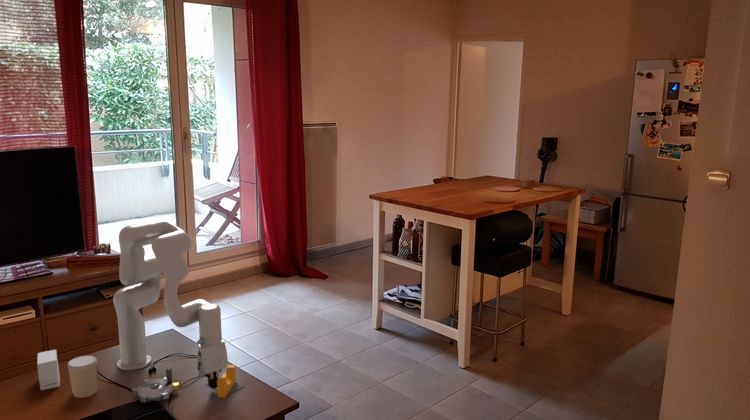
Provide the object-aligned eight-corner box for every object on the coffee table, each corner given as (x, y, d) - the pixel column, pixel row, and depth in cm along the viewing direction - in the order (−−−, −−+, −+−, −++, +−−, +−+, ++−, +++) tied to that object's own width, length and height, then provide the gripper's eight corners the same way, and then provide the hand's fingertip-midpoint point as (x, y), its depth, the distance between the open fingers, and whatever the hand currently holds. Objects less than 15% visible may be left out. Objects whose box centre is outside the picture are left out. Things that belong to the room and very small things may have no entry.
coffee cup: (105, 388, 210) (102, 357, 208) (85, 400, 202) (82, 368, 199) (85, 384, 213) (82, 353, 211) (64, 396, 205) (61, 364, 202)
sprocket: (151, 379, 215) (149, 361, 213) (185, 384, 211) (184, 366, 210) (124, 399, 200) (122, 380, 199) (160, 405, 197) (159, 386, 196)
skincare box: (39, 378, 217) (37, 352, 215) (59, 374, 220) (57, 348, 218) (39, 390, 208) (36, 363, 206) (59, 386, 211) (57, 359, 209)
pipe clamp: (224, 380, 217) (223, 364, 215) (235, 381, 216) (235, 365, 215) (212, 397, 205) (212, 380, 204) (225, 397, 204) (224, 380, 203)
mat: (206, 384, 214) (206, 384, 214) (224, 376, 220) (224, 376, 220) (226, 395, 207) (226, 394, 206) (244, 386, 213) (244, 386, 213)
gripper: (198, 349, 197) (201, 398, 201) (234, 335, 209) (236, 383, 212) (186, 343, 202) (189, 392, 205) (222, 330, 213) (224, 376, 217)
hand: (213, 387), depth 209 cm, fingers closed
